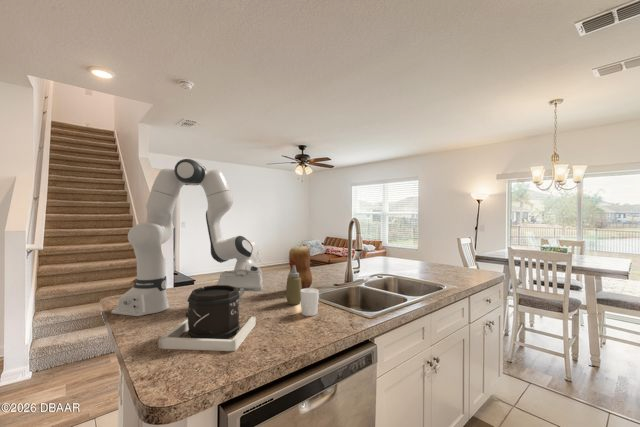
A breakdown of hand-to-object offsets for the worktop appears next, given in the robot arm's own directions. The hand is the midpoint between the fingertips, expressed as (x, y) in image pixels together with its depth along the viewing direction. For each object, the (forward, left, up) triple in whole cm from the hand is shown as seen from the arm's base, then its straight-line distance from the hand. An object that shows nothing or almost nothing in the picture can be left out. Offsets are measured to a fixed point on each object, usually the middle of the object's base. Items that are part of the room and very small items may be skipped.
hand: (235, 298), depth 130 cm
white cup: (+32, +1, -6) cm, 33 cm away
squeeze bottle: (+23, +15, -6) cm, 28 cm away
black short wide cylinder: (0, -23, -6) cm, 24 cm away
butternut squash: (+23, +36, -6) cm, 43 cm away
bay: (0, -24, -6) cm, 25 cm away
